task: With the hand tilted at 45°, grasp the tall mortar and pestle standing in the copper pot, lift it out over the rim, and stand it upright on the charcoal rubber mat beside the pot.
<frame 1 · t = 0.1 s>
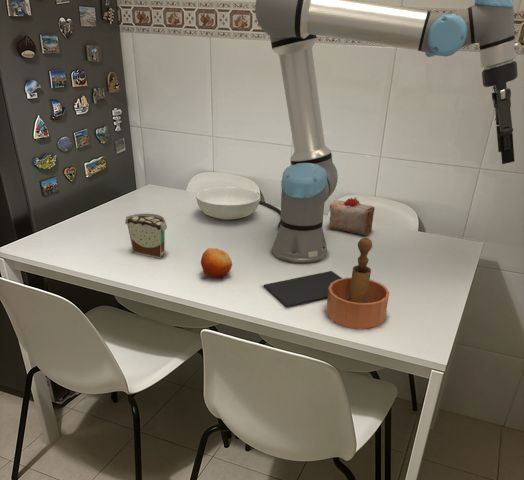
hand: (506, 156, 131), 28 cm above the table, tool tilted 20°, fingers open, 13 cm apart
fruit: (216, 275, 134), on the table
food item: (349, 230, 164), on the table
copper pot: (355, 313, 118), on the table
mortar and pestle: (355, 314, 118), resting in copper pot
rubber mat: (310, 289, 128), on the table
serving bowl: (228, 216, 173), on the table
food container: (153, 252, 146), on the table
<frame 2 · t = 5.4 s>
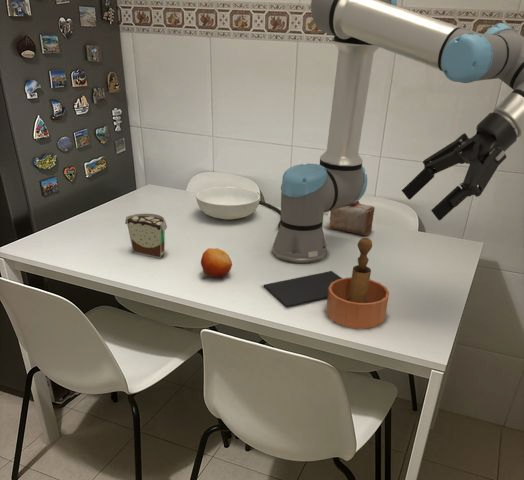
hand: (419, 205, 106), 25 cm above the table, tool tilted 45°, fingers open, 13 cm apart
nothing on the table moved.
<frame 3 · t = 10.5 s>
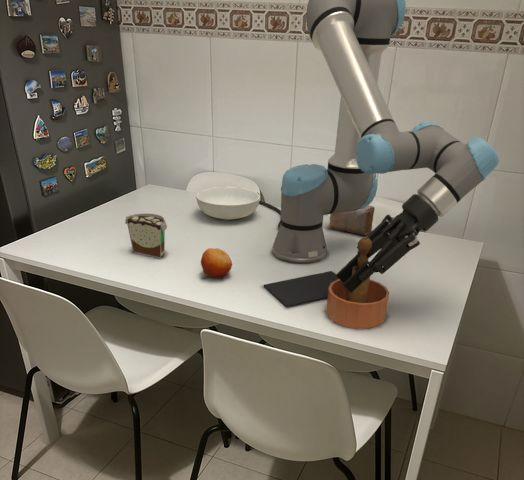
hand: (343, 283, 113), 8 cm above the table, tool tilted 45°, fingers closed on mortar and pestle, 4 cm apart
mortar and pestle: (355, 314, 118), resting in copper pot, touching gripper
everything else where it was.
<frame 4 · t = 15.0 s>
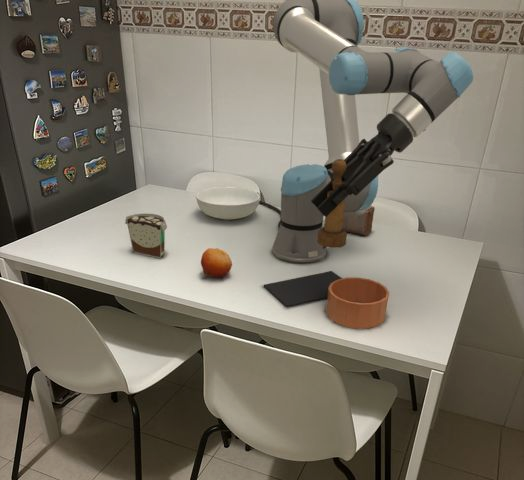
hand: (318, 208, 112), 22 cm above the table, tool tilted 45°, fingers closed on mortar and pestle, 4 cm apart
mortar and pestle: (331, 243, 117), point 14 cm above the table, touching gripper
everything else where it was.
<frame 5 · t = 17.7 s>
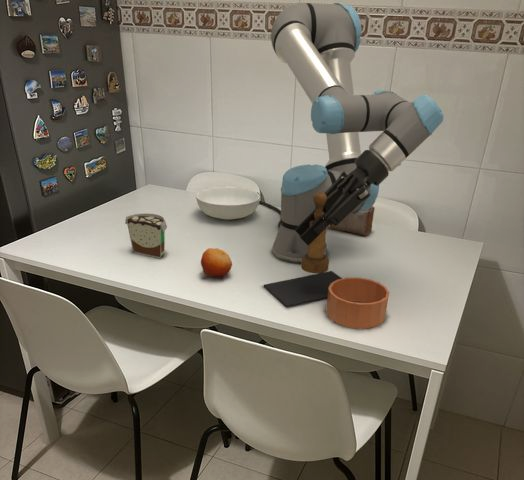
hand: (301, 237, 119), 14 cm above the table, tool tilted 45°, fingers closed on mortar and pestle, 4 cm apart
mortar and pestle: (314, 268, 124), point 6 cm above the table, touching gripper
everything else where it was.
when the fingers open (9 cm above the table, at t = 19.5 s): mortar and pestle stays where it is, resting on rubber mat.
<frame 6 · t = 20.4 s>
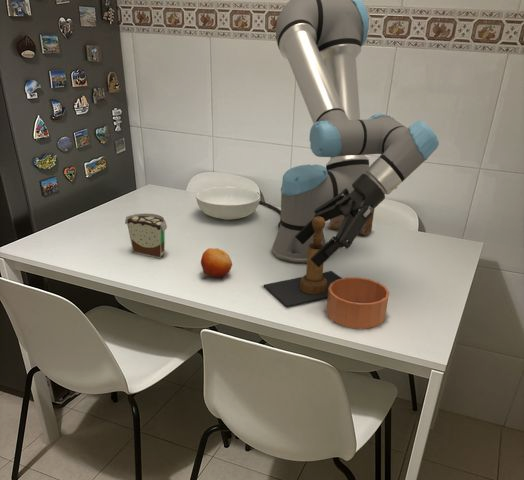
hand: (306, 251, 121), 10 cm above the table, tool tilted 45°, fingers open, 13 cm apart
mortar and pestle: (313, 289, 127), resting on rubber mat
everything else where it was.
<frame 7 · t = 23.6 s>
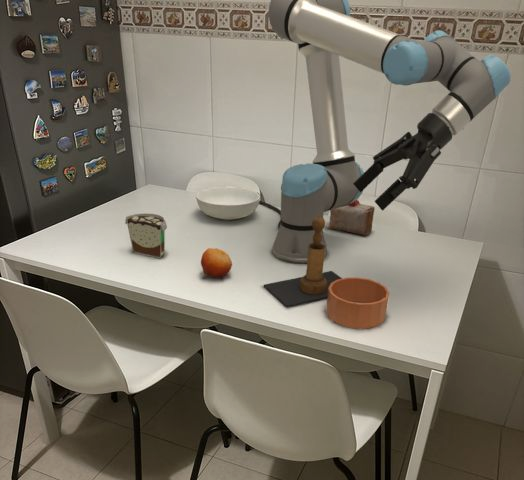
hand: (367, 196, 117), 23 cm above the table, tool tilted 45°, fingers open, 13 cm apart
nothing on the table moved.
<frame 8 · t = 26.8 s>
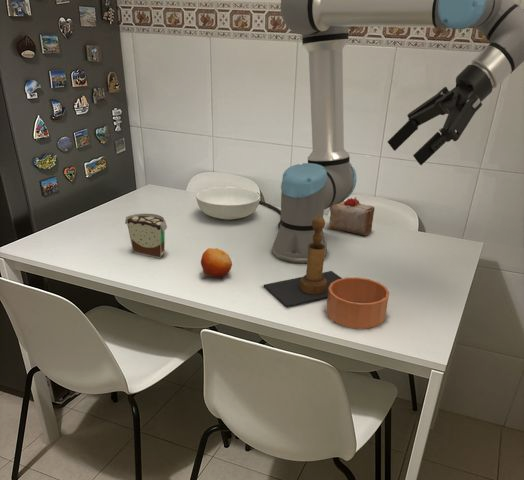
hand: (403, 153, 115), 32 cm above the table, tool tilted 45°, fingers open, 13 cm apart
nothing on the table moved.
at the end: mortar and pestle inside the target area on the rubber mat (1.1 cm from its centre), point 0.4 cm above the rubber mat's base; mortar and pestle tilted 0°; the gripper is holding nothing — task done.
